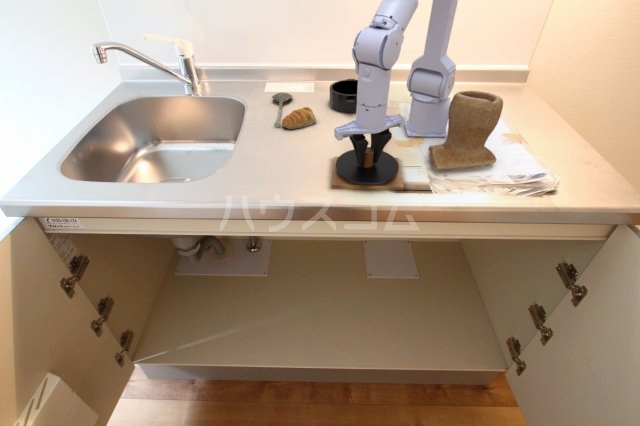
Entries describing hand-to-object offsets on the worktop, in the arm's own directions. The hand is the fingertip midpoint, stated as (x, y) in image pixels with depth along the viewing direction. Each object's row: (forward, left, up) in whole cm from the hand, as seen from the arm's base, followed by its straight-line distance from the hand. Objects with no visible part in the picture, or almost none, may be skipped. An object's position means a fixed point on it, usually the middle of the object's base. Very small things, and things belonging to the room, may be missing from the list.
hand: (367, 162), depth 68 cm
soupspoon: (+25, -32, -3) cm, 41 cm away
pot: (+4, -37, -3) cm, 37 cm away
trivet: (0, 0, -3) cm, 3 cm away
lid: (0, 0, -1) cm, 1 cm away
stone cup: (-21, -7, -3) cm, 22 cm away
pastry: (+18, -24, -3) cm, 30 cm away
